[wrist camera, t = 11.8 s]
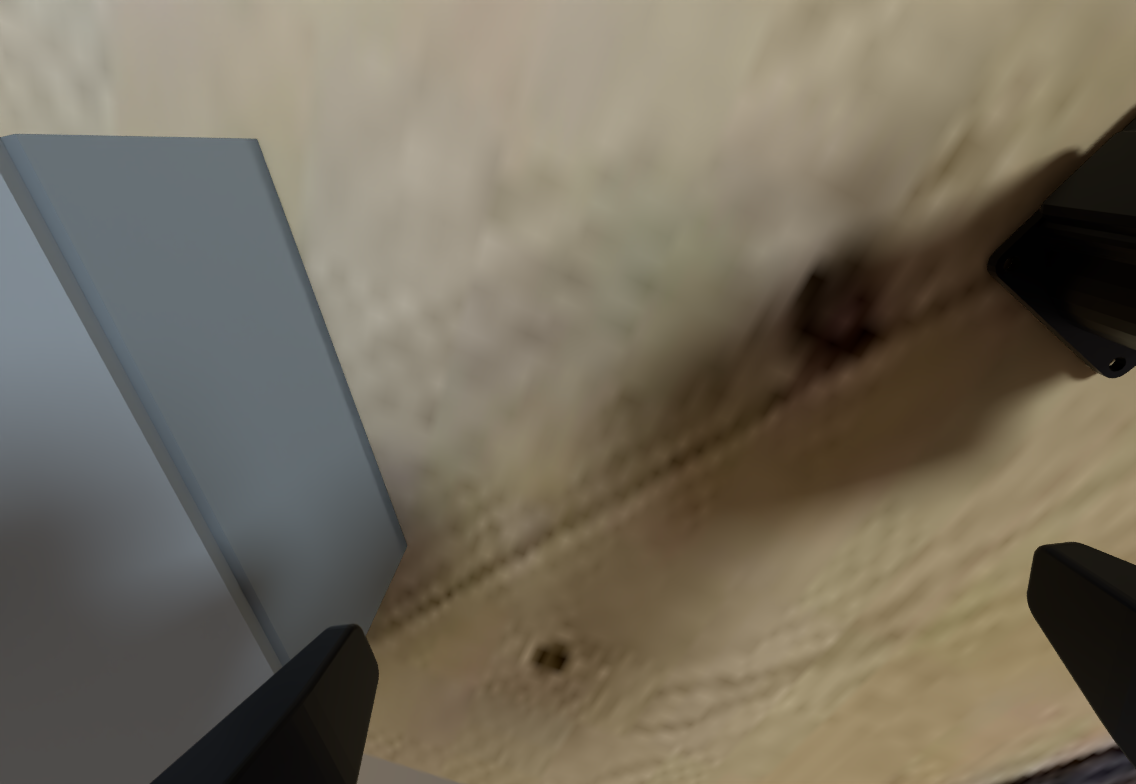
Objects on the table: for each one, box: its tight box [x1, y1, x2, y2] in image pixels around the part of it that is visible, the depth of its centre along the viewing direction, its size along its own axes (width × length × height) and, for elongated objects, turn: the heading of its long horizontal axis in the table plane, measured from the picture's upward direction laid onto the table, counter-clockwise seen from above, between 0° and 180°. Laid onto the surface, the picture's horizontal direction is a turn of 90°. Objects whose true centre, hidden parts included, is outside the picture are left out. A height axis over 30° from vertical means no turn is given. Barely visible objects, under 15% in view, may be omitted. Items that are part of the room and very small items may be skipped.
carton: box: [0, 134, 407, 666], centre depth 18 cm, size 10×16×8 cm, turn 10°
